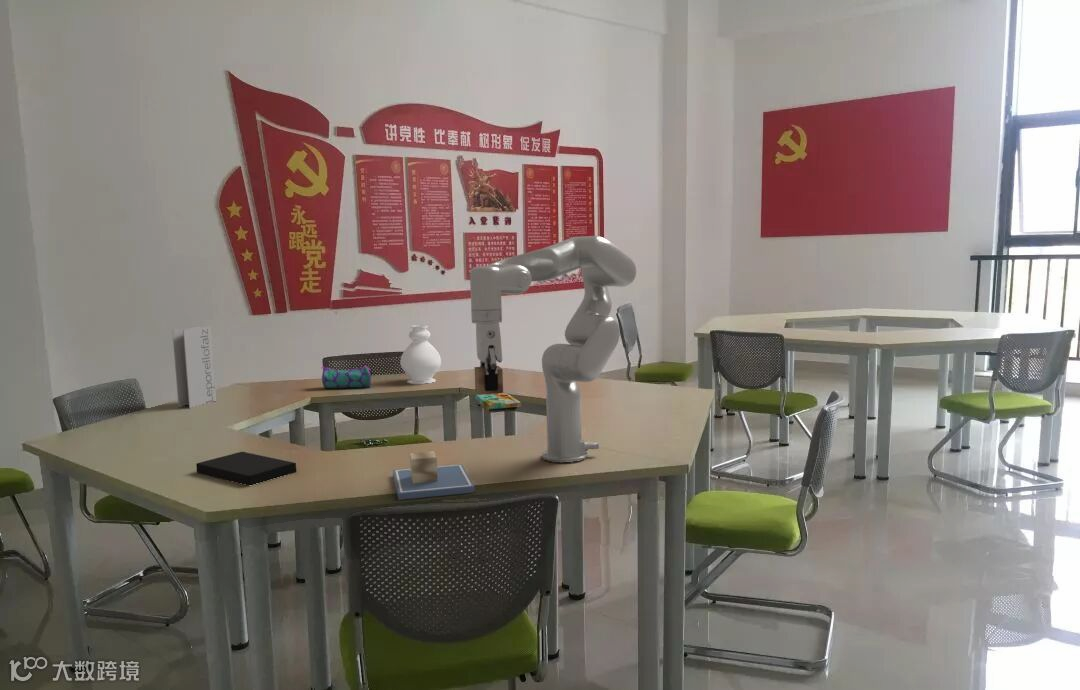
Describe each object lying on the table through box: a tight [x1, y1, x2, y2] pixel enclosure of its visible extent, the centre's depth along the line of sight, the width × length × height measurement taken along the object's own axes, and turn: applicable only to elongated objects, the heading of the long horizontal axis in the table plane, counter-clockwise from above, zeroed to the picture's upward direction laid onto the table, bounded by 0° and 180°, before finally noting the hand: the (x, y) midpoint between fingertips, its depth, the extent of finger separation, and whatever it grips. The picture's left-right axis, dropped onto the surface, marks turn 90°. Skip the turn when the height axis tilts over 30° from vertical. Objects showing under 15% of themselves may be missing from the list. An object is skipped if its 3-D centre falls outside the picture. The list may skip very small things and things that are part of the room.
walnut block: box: [473, 365, 504, 395], centre depth 193 cm, size 6×6×6 cm
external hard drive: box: [196, 451, 297, 486], centre depth 206 cm, size 14×23×3 cm, turn 56°
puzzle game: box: [475, 392, 522, 414], centre depth 282 cm, size 12×5×20 cm
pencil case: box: [321, 365, 373, 389], centre depth 331 cm, size 21×9×10 cm, turn 96°
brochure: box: [171, 325, 217, 409], centre depth 300 cm, size 14×6×30 cm, turn 161°
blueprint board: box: [392, 463, 475, 501], centre depth 192 cm, size 18×20×2 cm
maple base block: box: [409, 450, 438, 483], centre depth 191 cm, size 6×6×6 cm
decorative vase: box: [399, 324, 442, 385], centre depth 341 cm, size 18×18×25 cm
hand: (489, 387), depth 193 cm, fingers closed on walnut block, 6 cm apart
